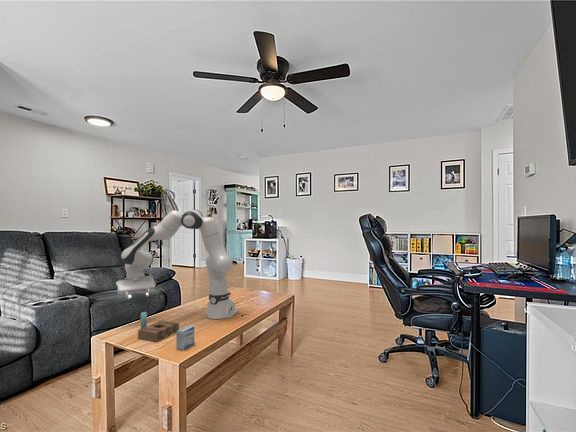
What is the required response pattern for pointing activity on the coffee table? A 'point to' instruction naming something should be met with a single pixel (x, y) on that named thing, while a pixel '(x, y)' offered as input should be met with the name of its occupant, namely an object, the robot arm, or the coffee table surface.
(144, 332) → the hole block
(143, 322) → the peg
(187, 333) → the medicine box
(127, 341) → the coffee table surface
